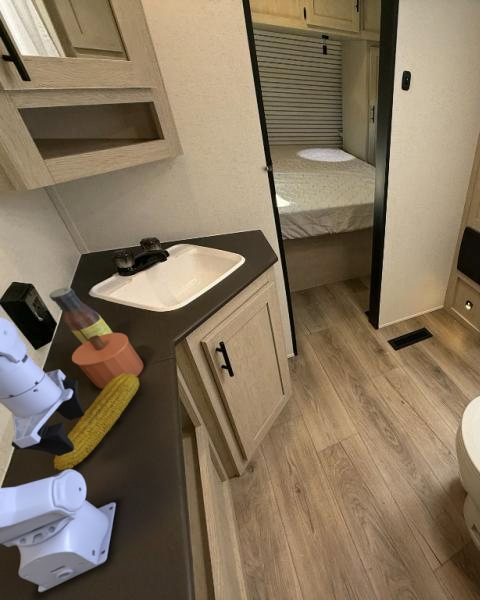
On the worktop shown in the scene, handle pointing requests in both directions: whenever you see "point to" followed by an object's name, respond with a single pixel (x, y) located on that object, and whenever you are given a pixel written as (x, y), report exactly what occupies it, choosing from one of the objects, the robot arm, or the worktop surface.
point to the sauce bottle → (79, 315)
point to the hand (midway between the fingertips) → (72, 433)
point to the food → (98, 419)
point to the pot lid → (100, 349)
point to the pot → (114, 367)
